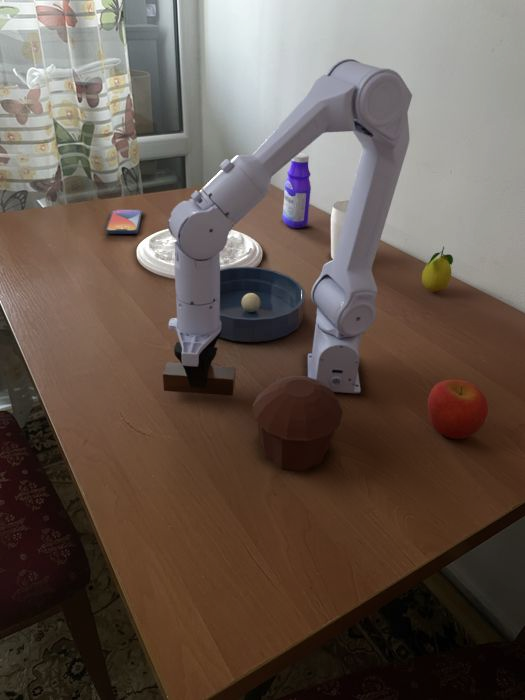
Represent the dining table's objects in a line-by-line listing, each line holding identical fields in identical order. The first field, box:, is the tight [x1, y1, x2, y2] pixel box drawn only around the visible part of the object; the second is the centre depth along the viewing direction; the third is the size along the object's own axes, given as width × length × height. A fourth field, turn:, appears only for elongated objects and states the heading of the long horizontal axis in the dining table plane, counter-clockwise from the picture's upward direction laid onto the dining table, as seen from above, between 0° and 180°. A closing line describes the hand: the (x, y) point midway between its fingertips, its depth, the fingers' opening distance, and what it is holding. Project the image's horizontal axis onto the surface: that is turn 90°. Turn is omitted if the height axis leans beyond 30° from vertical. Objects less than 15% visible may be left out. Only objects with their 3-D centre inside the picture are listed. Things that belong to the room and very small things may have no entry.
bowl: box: [219, 266, 306, 343], centre depth 100 cm, size 20×20×5 cm
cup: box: [330, 199, 349, 260], centre depth 122 cm, size 9×9×12 cm
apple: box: [427, 379, 489, 440], centre depth 75 cm, size 8×8×8 cm
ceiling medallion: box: [136, 228, 263, 280], centre depth 122 cm, size 28×28×3 cm
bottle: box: [282, 152, 312, 229], centre depth 136 cm, size 7×6×17 cm
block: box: [162, 361, 237, 397], centre depth 79 cm, size 3×10×3 cm, turn 86°
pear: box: [421, 246, 454, 293], centre depth 110 cm, size 7×6×10 cm
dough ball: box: [242, 293, 261, 312], centre depth 100 cm, size 4×4×4 cm
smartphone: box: [105, 209, 143, 235], centre depth 135 cm, size 7×15×1 cm, turn 6°
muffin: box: [251, 375, 344, 472], centre depth 70 cm, size 12×11×10 cm
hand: (199, 378), depth 79 cm, fingers closed on block, 3 cm apart
